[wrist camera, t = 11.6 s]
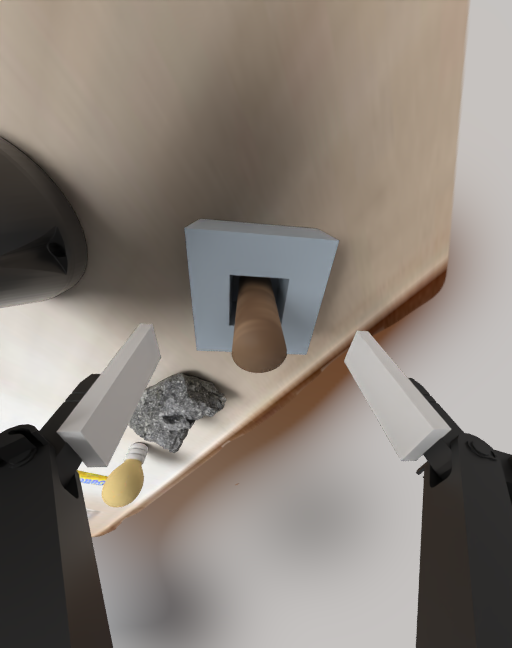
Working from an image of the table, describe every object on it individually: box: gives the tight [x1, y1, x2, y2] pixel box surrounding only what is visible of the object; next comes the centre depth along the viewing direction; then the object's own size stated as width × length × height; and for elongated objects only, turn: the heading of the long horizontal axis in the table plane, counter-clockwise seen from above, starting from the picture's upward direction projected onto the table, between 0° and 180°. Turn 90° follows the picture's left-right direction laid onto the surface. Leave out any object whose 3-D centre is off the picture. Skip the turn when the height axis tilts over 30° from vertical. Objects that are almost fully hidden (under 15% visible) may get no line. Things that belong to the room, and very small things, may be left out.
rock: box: [128, 373, 226, 453], centre depth 32 cm, size 13×13×10 cm
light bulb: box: [102, 443, 148, 507], centre depth 39 cm, size 6×6×10 cm
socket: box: [184, 219, 339, 355], centre depth 21 cm, size 12×12×6 cm
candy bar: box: [77, 470, 108, 485], centre depth 49 cm, size 17×4×2 cm, turn 53°
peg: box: [232, 276, 287, 373], centre depth 18 cm, size 4×4×12 cm
